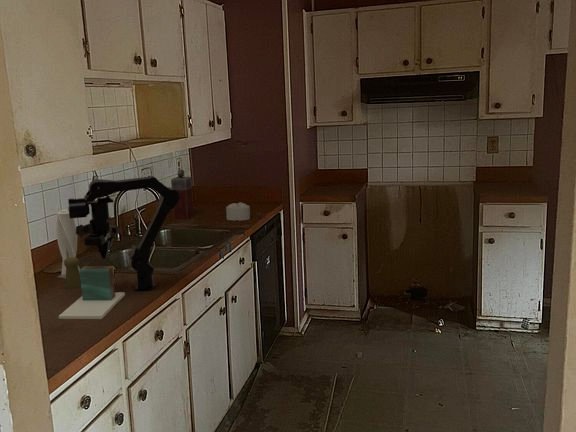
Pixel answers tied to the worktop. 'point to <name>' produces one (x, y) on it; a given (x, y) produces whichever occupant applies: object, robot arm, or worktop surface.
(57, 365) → the worktop surface
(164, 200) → the robot arm
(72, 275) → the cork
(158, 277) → the worktop surface
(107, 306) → the board
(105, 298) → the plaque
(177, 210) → the square decanter
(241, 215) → the lumpy-topped squat cylinder
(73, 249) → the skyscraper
